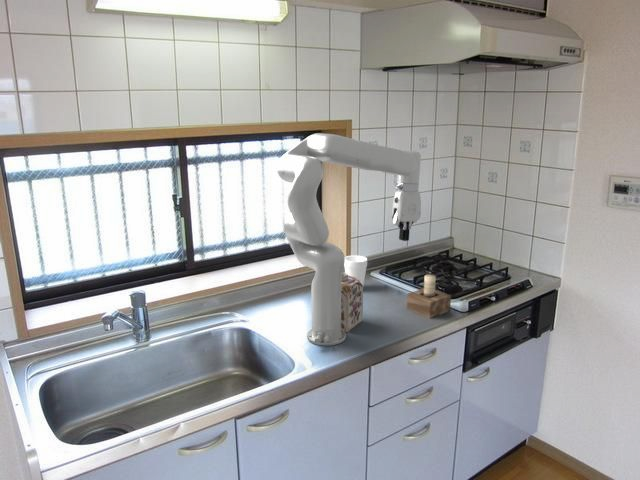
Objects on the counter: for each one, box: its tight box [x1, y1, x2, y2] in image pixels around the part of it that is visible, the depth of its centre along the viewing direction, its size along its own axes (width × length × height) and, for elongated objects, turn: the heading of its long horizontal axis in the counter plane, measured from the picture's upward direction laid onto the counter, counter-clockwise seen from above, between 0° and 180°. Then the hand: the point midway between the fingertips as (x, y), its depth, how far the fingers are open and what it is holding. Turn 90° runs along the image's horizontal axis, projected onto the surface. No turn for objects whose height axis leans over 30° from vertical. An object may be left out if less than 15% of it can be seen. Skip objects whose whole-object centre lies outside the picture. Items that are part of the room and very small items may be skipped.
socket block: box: [406, 288, 452, 319], centre depth 190 cm, size 11×11×6 cm
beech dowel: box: [423, 274, 437, 298], centre depth 189 cm, size 4×4×12 cm
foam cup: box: [344, 254, 368, 287], centre depth 210 cm, size 10×9×13 cm
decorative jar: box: [341, 271, 364, 333], centre depth 177 cm, size 12×12×18 cm
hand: (403, 239), depth 181 cm, fingers closed
